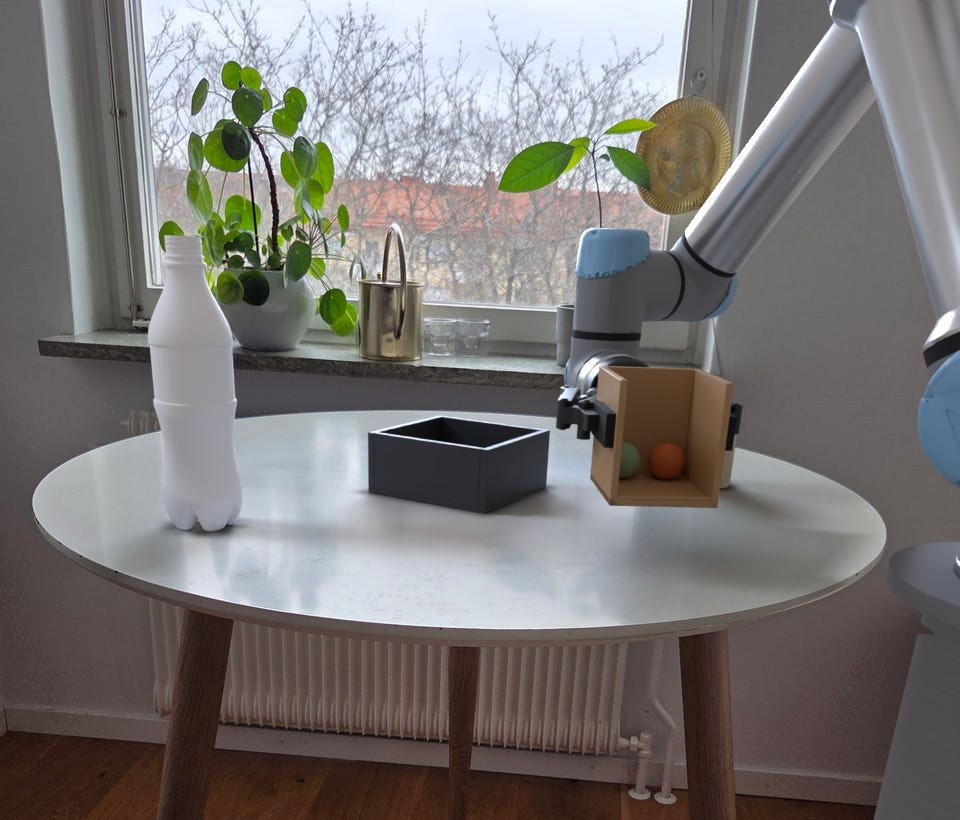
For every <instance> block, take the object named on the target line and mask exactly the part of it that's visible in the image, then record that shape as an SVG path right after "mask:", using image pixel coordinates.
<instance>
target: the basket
mask: <svg viewBox="0 0 960 820" xmlns="http://www.w3.org/2000/svg"><path fill="white" fill-rule="evenodd" d="M550 438H551V430H550V429H544V428H537V427H529V426H523V425H516V424H515V425H514V424H507V423H500V422H493V421H492V422H491V421H485V420H478V419H470V418H463V417H455V416H446V415H441V414H439V415H435V416H431V417H426V418H422V419H418V420H413V421H410V422H406V423H405V422H404V423H402V424H398V425H392V426H388V427H385V428H381V429H377V430H373V431H368V432H367V468H368V469H367V472H368V473H367V474H368V475H367V476H368V477H367V478H368V481H367V482H368V483H367V484H368V486H367V487H368V491H367V492H368V493H370V494H375V495H376V494H377V495H382V496H387V497H393V498H398V499H403V500H410V501H415V502H420V503H425V504H431V505H436V506H441V507H447V508H452V509H458V510H464V511H470V512H475V513H481V514H487V513H490V512H491V511H494V510H496V509H499V508H502V507H503V506H506V505H509V504H510V503H513V502H515V501H518V500H520V499H522V498H524V497H526V496H528V495H529V496H530V495H531V494H533V493H535V492H537V491H540V490H543V489H545V488H547V482H548V468H549V467H548V465H549V454H550V453H549V451H550V440H551V439H550Z"/></svg>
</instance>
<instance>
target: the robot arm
mask: <svg viewBox="0 0 960 820" xmlns="http://www.w3.org/2000/svg"><path fill="white" fill-rule="evenodd" d="M826 3H827V6H828V10H829V14H830V18H831V20H832V22H833V23H832V24H831V26H830V27H829V28H828V30H827V32H826V33H825V34H824V35H823V37H822V38H821V40H820V41H819V43H818V44H817V45H816V47H815V48H814V49H813V51H812V53H811V54H810V55H809V57H808V58H807V59H806V61H805V63H804V64H802V66H801V68H800V69H799V70H798V72H797V74H796V75H795V76H794V78H793V79H792V81H790V83H789V85H788V86H787V87H786V89H785V90H784V92H783V93H782V95H781V96H780V97H779V99H778V100H777V102H776V103H775V104H774V106H773V107H772V108H771V110H770V111H769V113H768V114H767V116H765V119H764V120H763V121H762V123H761V124H760V126H759V127H758V128H757V129H756V131H755V133H754V134H753V135H752V136H751V138H750V139H749V141H748V142H747V144H745V147H744V148H743V149H742V151H741V152H740V154H739V155H738V156H737V158H736V159H735V160H734V162H732V163H733V164H732V165H731V166H730V168H729V169H728V170H727V172H726V173H725V174H724V176H723V177H722V178H721V180H720V182H719V183H718V184H717V185H716V187H715V189H714V190H713V191H712V193H711V194H710V196H709V197H708V198H707V200H706V201H705V203H704V204H703V205H702V207H701V208H700V209H699V211H698V213H696V215H695V216H694V218H693V220H691V222H690V224H689V225H688V227H687V228H686V229H685V230H684V232H683V233H682V234H681V236H680V237H679V238H678V240H677V241H676V242H675V244H674V245H673V247H672V248H671V249H670V250H660V249H659V250H658V249H651V240H650V235H649V233H648V232H647V231H646V230H643V229H637V228H636V229H635V228H613V227H612V228H611V227H610V228H609V227H592V228H588V229H585V230H584V232H582V234H581V236H580V238H579V246H578V250H577V257H576V265H575V268H574V274H575V283H574V285H575V286H574V287H575V288H574V305H573V318H572V320H573V321H572V322H573V323H572V336H571V338H570V341H571V342H570V353H569V358H568V360H567V362H566V364H565V368H564V375H563V377H564V378H563V379H564V386H560V392H559V393H560V394H559V397H558V398H557V404H556V405H557V406H556V421H555V428H556V429H558V430H560V431H566V430H569V429H570V428H571V427H572V425H577V429H576V439H577V440H581V441H589V440H591V435H592V436H593V437H595V438H596V439H597V440H598V441H599V442H600V443H601V445H602V446H603V447H604V448H613V445H614V434H615V423H616V413H615V412H614V411H613V410H611V409H610V408H609V407H608V406H607V405H606V404H604V403H603V402H599V400H598V399H597V387H598V374H599V366H620V367H650V366H649V365H648V364H646V363H645V362H644V361H641V360H639V355H640V345H641V344H640V343H641V339H642V330H643V323H648V322H685V323H693V322H700V321H705V320H711V319H715V318H717V317H720V316H721V315H722V314H723V313H725V312H726V311H727V310H728V309H729V308H730V306H731V305H732V303H733V302H734V300H735V299H734V298H735V295H736V291H737V289H738V284H739V283H738V274H737V273H738V272H739V270H740V269H741V268H742V267H743V266H744V264H745V263H746V262H747V260H748V259H749V258H750V257H751V256H752V254H753V253H754V252H755V251H756V249H757V248H758V247H759V246H760V244H761V243H762V242H763V241H764V239H765V238H766V237H767V235H768V234H769V233H770V232H771V231H772V229H773V228H774V226H775V225H776V224H777V223H778V222H779V220H780V219H781V218H782V217H783V216H784V214H785V212H787V210H788V209H789V208H790V207H791V205H792V204H793V203H794V202H795V200H797V198H798V197H799V196H800V194H801V193H802V192H803V191H804V189H805V188H806V187H807V185H809V183H810V182H811V181H812V179H813V178H814V177H815V176H816V174H817V173H818V172H819V170H821V168H822V167H823V166H824V165H825V163H826V162H827V161H828V159H829V158H830V157H831V155H833V153H834V152H835V151H836V149H837V148H838V147H839V146H840V144H841V143H842V142H843V141H844V139H845V138H846V137H847V136H848V134H850V132H851V131H852V129H854V127H855V126H856V124H857V123H858V122H859V121H860V119H861V118H862V117H863V115H865V114H866V112H867V111H868V110H869V108H870V107H871V106H872V105H873V103H874V102H875V101H876V103H877V106H878V110H879V115H880V118H881V121H882V125H883V128H884V132H885V136H886V139H887V144H888V147H889V151H890V155H891V158H892V162H893V166H894V169H895V173H896V177H897V180H898V185H899V187H900V188H899V189H900V191H901V192H900V193H901V196H902V199H903V203H904V207H905V210H906V214H907V217H908V221H909V225H910V229H911V233H912V236H913V239H914V245H915V247H916V251H917V255H918V259H919V262H920V265H921V269H922V273H923V276H924V279H925V280H924V281H925V283H926V287H927V291H928V295H929V299H930V303H931V306H932V310H933V313H934V318H935V325H934V326H933V327H934V328H933V329H932V330H931V332H930V334H929V335H928V337H927V339H926V341H925V343H924V344H923V346H922V347H921V350H922V355H923V359H924V364H925V366H926V372H927V374H928V378H929V381H928V383H927V386H926V390H925V391H924V395H923V396H922V397H921V398H920V401H919V405H918V411H917V432H918V437H919V442H920V445H921V447H922V450H923V452H924V454H925V456H926V458H927V460H928V462H929V463H930V464H931V465H932V467H933V468H934V470H935V471H936V472H937V473H939V475H941V477H942V478H944V479H945V480H946V481H947V482H949V483H950V484H952V485H953V486H954V487H957V488H959V489H960V0H826ZM743 407H744V405H742V404H740V403H738V402H733V401H732V402H731V409H730V417H729V424H728V432H727V439H726V447H725V451H732V449H733V442H734V435H735V434H737V435H739V434H740V430H741V423H742V415H743ZM953 571H954V573H955V575H956V576H957V577H959V578H960V548H959V550H958V553H957V554H956V558H955V562H954V566H953Z"/></svg>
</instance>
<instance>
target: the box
mask: <svg viewBox="0 0 960 820" xmlns="http://www.w3.org/2000/svg"><path fill="white" fill-rule="evenodd" d="M734 385H735V383H734V382H732V381H729V380H727V379H725V378H722V377H720V376H718V375H715V374H713V373H710V372H708V371H706V370H703V369H701V368H685V367H684V368H681V367H654V366H653V367H651V366H649V367H620V366H599V374H598V387H597V399H598V400H599V402H603V403H604V404H606V405H607V406H608V407H609V408H610V409H611V410H613V411H614V412H615V413H616V423H615V434H614V445H613V448H604V447H603V446H602V445H601V443H600V442H599V441H598V440H597V439H596V438H595V437H594V436H593V438H592V452H591V463H590V475H589V479H590V481H591V482H592V483H593V485H594V486H595V487H596V489H597V490H598V491H599V493H600V494H601V496H602V497H603V499H604V500H605V501H606V503H607V504H608V506H610V507H650V508H696V509H697V508H698V509H701V508H702V509H718V507H719V497H720V491H721V488H720V484H721V477H722V469H723V462H724V454H725V447H726V439H727V432H728V424H729V417H730V409H731V402H733V401H732V400H733V393H734ZM622 442H627V443H630V444H632V445H633V446H634V447H635V448H636V449H637V450H638V452H639V455H640V465H639V468H638V470H637V471H636V472H635V473H634V474H633V475H632V476H630V477H628V478H624V479H619V472H620V461H621V450H622ZM663 443H671V444H674V445H676V446H678V447H679V448H680V449H681V450H682V452H683V454H684V457H685V464H684V468H683V470H682V471H681V473H680V474H679V475H678V476H676V477H675V478H672V479H668V480H663V479H660V478H657V477H656V476H654V475H653V474H652V472H651V471H650V469H649V465H648V459H649V455H650V453H651V452H652V450H653V449H654V448H655V447H656V446H658V445H660V444H663Z"/></svg>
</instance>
